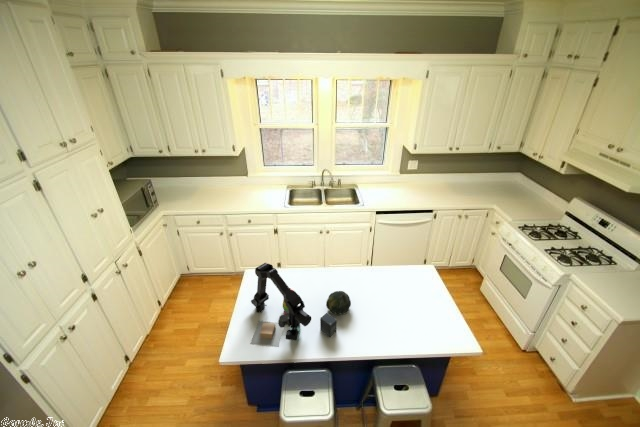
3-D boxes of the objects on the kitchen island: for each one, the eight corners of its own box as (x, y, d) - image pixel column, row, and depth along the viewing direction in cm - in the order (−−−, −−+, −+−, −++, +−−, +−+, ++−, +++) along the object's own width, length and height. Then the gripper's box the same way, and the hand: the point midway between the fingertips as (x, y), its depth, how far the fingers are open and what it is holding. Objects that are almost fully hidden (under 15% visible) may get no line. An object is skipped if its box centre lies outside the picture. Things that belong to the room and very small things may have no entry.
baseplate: (258, 321, 177) (258, 320, 176) (285, 324, 175) (284, 323, 175) (250, 345, 163) (250, 343, 162) (278, 348, 161) (278, 346, 161)
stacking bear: (297, 320, 178) (295, 299, 169) (280, 317, 179) (279, 296, 171) (301, 307, 187) (300, 286, 178) (286, 304, 189) (284, 283, 180)
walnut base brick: (263, 327, 172) (263, 322, 170) (275, 328, 171) (275, 324, 169) (260, 337, 166) (259, 333, 164) (272, 339, 165) (272, 334, 163)
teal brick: (291, 331, 168) (291, 324, 165) (300, 332, 167) (300, 324, 164) (290, 338, 163) (289, 331, 160) (298, 339, 163) (298, 332, 160)
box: (336, 332, 170) (337, 319, 165) (330, 338, 167) (330, 325, 162) (326, 324, 175) (326, 312, 170) (320, 330, 171) (320, 317, 166)
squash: (320, 296, 187) (329, 293, 174) (340, 289, 194) (350, 286, 181) (328, 319, 184) (337, 317, 171) (348, 311, 190) (358, 309, 177)
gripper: (283, 300, 166) (284, 319, 174) (275, 327, 150) (277, 347, 157) (302, 302, 165) (303, 321, 172) (296, 329, 149) (297, 349, 156)
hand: (295, 334), depth 165 cm, fingers closed on teal brick, 5 cm apart
